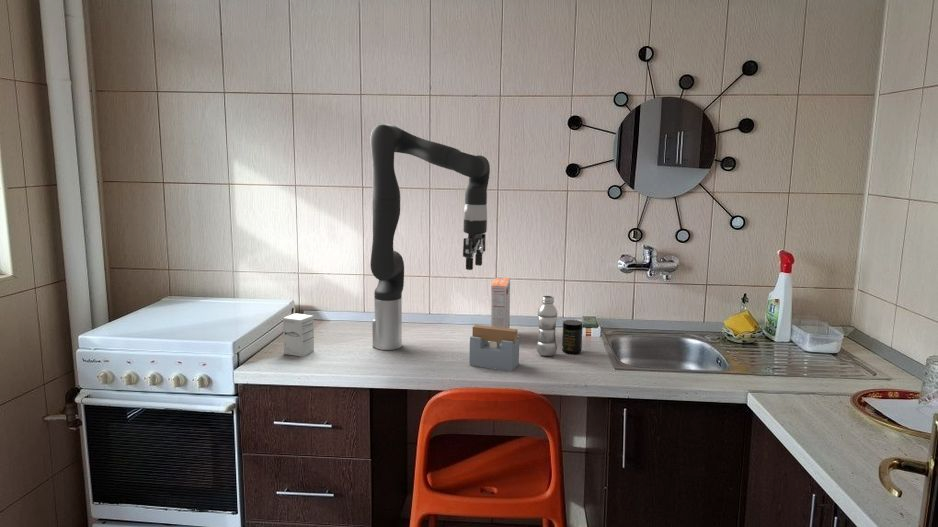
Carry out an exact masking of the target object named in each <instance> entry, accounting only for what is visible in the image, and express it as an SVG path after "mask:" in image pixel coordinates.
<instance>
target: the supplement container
mask: <svg viewBox="0 0 938 527" xmlns="http://www.w3.org/2000/svg"><path fill="white" fill-rule="evenodd" d="M583 326H584V322H583V321H580V320H578V319H577V320H575V319H565V320H563V321H562V334H561V336H562V337H561V338H562V339H561V340H562V341H561V352H563V353H564V354H567V355H573V356H574V355H579V354H581V353H582V350H583V349H582V348H583V347H582V346H583V328H584V327H583Z"/></svg>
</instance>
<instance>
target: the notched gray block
mask: <svg viewBox="0 0 938 527" xmlns="http://www.w3.org/2000/svg"><path fill="white" fill-rule="evenodd" d="M468 358H469V366H470V365H472V366H471V367H478V366H480V367H479V368H485V367H487V368H488V369H493V368H496V369H495V370H500V369H501V371H509V372H513V370H514V369H515V368H516V367H517V366H518V365H519V364H520V335H517V342H516V343H515V344H513V341H505V340H502V343H500V342H493V341H485V340H481V338H480V337H472V336H470V337H469V357H468Z"/></svg>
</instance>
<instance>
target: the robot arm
mask: <svg viewBox="0 0 938 527" xmlns="http://www.w3.org/2000/svg"><path fill="white" fill-rule="evenodd" d="M369 141H370V152H371V160H372V161H371V162H372V194H371V195H372V196H371V197H372V202H371V203H372V205H371V206H372V207H371V208H372V209H371V210H372V245H371V252H370V253H371V254H370V271H371V273H372V275H373V277H375V279H376V280H378V284H377V286H376V287H375V289H374V292H373V294H374V318H373V319H372V322H371V323H372V326H371V327H372V329H371V330H372V332H371V333H372V348H376V349H378V350H383V351H395V350H398V349H400V348H402V346H403V338H402V337H403V331H402V329H403V327H402V326H403V320H402V319H403V318H402V317H403V312H402V311H403V310H402V308H403V306H402V304H403V303H402V302H403V301H402V300H403V299H402V298H403V297H402V295H403V294H402V293H403V290H404V285H405V262H404V258H403V256H402V255H401V253H399V252H398V251H396V250H394V241H395V240H394V238H395V234H396V230H397V227H398V224H399V220H400V215H401V191H400V186H399V183H398V179H397V176H396V172H395V153H400V154H405V155H410V156H413V157H416V158H419V159H421V160H424V161H425V162H427V163H428V164H429V163H430V164H432V165H435V166H437V167H441V168H443V169H446V170H451V171H454V172H456V173H457V174H461V175H462V176H465V177H468V182H467V186H466V187H465V193H464V208H463V233H465V234H468V235H467V237H465V238H463V241H462V242H463V243H462V244H463V246H462V257H463V258H465V269H466V270H467V271H472V270H473V269H474V265H475V266H482V265H483V255H484V253H485V252H486V235H487V234H486V233H487V231H488V205H487V203H488V200H487V198H488V187H489V186H488V185H489V182H490V181H489V180H490V174H491V173H490V172H491V170H490V169H491V167H490V166H491V165H490V162H489V160H488V159H487V158H486V156H484V155H481V154H480V155H473V154H470V153H466V152H463V151H461V150H460V149H458V148H455V147H452V146H449V145H446V144H443V143H438V142H434V141H431V140H427V139H425V138H421V137H419V136H416V135H414V134H411V133H410V132H409V131H405V130H403V129H402V128H401V127H398V126H397V125H394V124H388V123H381V124H378V125H376V126H375V127H374V128H373V129H372V130H371V133H370V139H369ZM474 255H475V259H474ZM474 260H475V261H474ZM474 262H475V263H474Z"/></svg>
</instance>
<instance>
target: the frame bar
mask: <svg viewBox="0 0 938 527" xmlns="http://www.w3.org/2000/svg"><path fill="white" fill-rule="evenodd" d="M517 336H518V329H517V328H512V327H511V328H502V327H493V326H491V325H483V324H475V325H473V326H472V336H471V337H480V338H481V340H485V341H488V342H490V341H493V342H502V340H505V341H513V344H515V343H516V342H517Z"/></svg>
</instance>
